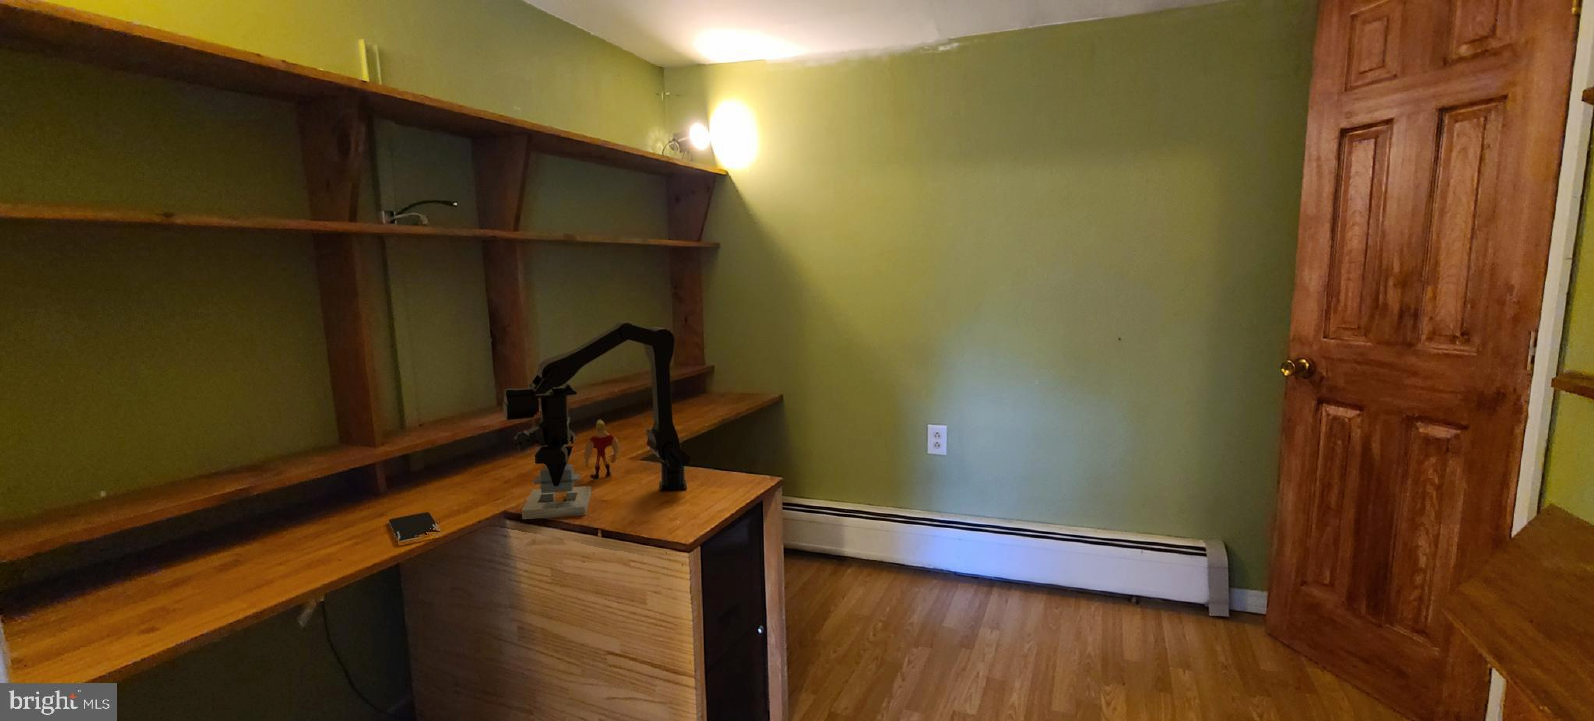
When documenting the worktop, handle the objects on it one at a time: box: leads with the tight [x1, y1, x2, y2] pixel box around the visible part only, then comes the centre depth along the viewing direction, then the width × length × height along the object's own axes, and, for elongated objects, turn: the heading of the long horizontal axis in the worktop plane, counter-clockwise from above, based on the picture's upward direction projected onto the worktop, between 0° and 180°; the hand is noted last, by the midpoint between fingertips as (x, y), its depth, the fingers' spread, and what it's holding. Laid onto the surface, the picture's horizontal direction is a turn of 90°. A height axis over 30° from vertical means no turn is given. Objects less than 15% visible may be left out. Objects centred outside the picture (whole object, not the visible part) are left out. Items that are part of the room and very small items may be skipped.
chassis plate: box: [521, 485, 592, 520], centre depth 153 cm, size 14×13×2 cm
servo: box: [534, 464, 580, 493], centre depth 154 cm, size 8×9×5 cm
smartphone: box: [388, 512, 442, 542], centre depth 138 cm, size 8×1×15 cm
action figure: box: [583, 419, 620, 479], centre depth 174 cm, size 10×4×15 cm, turn 129°
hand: (557, 482), depth 152 cm, fingers closed on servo, 4 cm apart
